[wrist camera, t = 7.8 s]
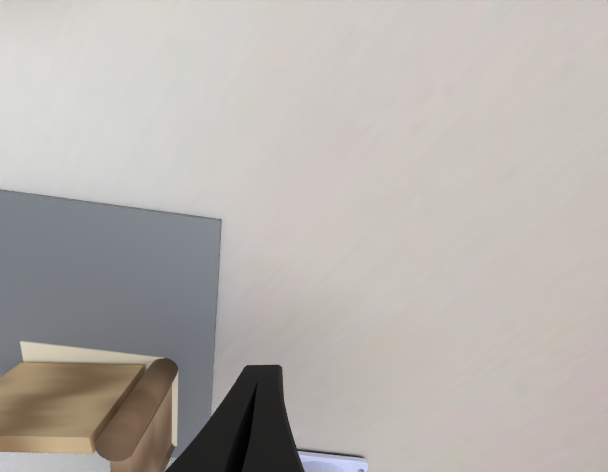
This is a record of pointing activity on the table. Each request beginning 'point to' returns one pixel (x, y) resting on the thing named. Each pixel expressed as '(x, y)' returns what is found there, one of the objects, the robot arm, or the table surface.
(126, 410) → the fence fixed section
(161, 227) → the card
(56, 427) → the fence panel
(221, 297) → the table surface
